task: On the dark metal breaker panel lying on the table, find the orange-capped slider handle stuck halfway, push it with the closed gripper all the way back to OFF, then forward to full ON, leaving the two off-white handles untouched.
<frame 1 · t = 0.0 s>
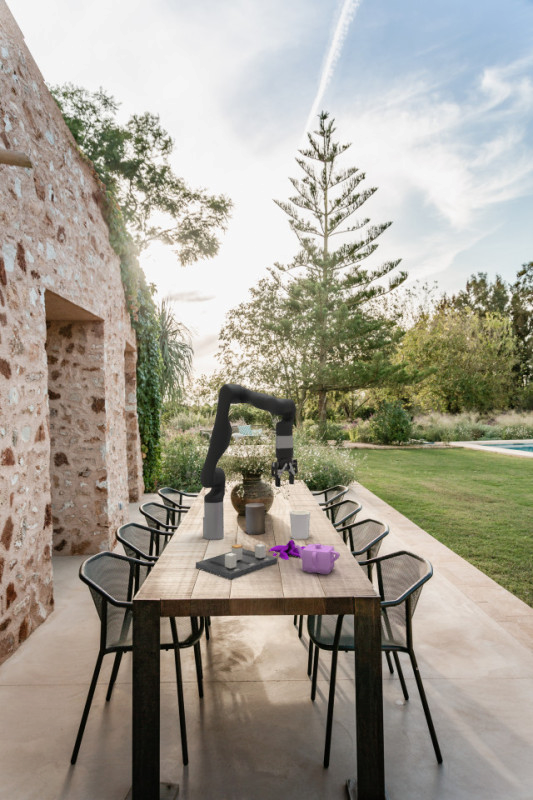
hand: (284, 485, 201), 29 cm above the table, tool pointing down, fingers open, 8 cm apart
candle holder: (300, 537, 229), on the table
teapot: (316, 570, 183), on the table
cloth: (289, 555, 204), on the table
breaker c: (260, 551, 192), point 5 cm above the table, slide at 10.0 cm
breaker tripped: (236, 552, 189), point 5 cm above the table, slide at 5.0 cm
pillar candle: (255, 532, 240), on the table
panel: (237, 565, 189), on the table
breaker a: (230, 560, 180), point 5 cm above the table, slide at 10.0 cm
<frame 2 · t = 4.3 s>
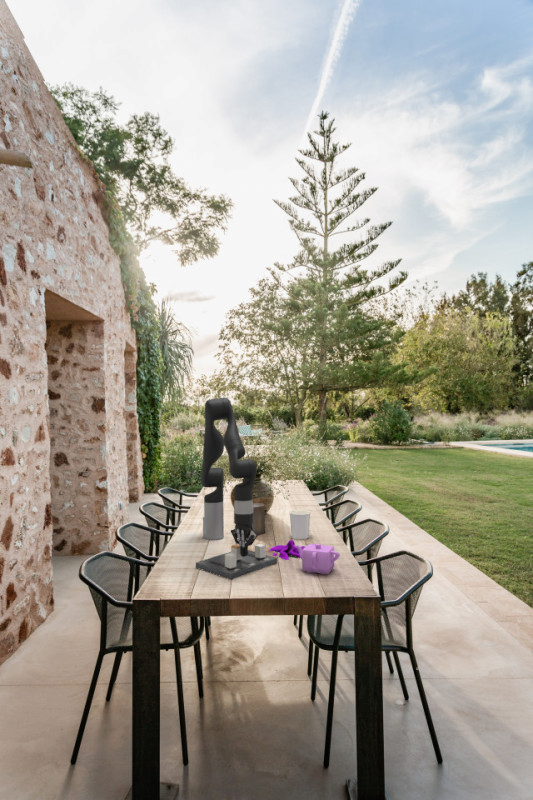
hand: (244, 556, 187), 4 cm above the table, tool pointing down, fingers closed
breaker tripped: (236, 552, 190), point 5 cm above the table, slide at 4.8 cm, touching gripper
everything else where it was.
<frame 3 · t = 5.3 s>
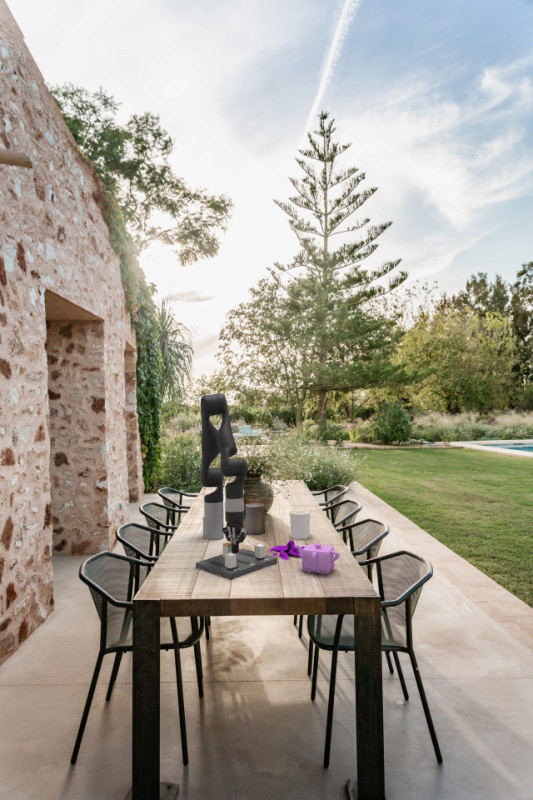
hand: (235, 553, 190), 4 cm above the table, tool pointing down, fingers closed
breaker tripped: (228, 549, 193), point 5 cm above the table, slide at -0.1 cm, touching gripper
everything else where it was.
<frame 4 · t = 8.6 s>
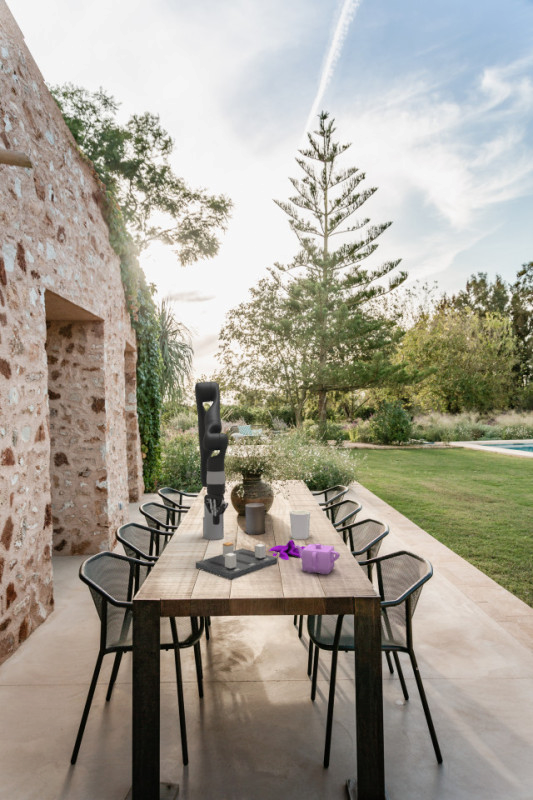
hand: (216, 524, 198), 14 cm above the table, tool pointing down, fingers closed
breaker tripped: (228, 549, 193), point 5 cm above the table, slide at -0.1 cm
everything else where it was.
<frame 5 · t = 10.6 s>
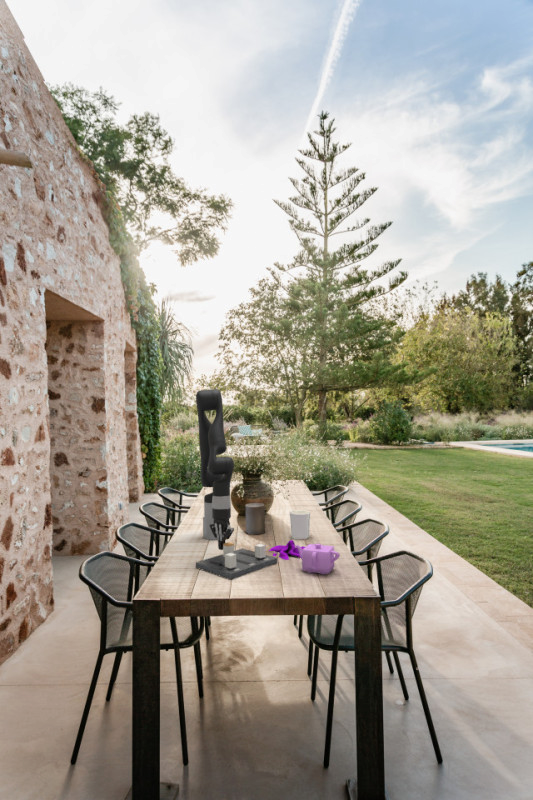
hand: (221, 549, 195), 5 cm above the table, tool pointing down, fingers closed
breaker tripped: (228, 549, 193), point 5 cm above the table, slide at 0.1 cm, touching gripper
everything else where it was.
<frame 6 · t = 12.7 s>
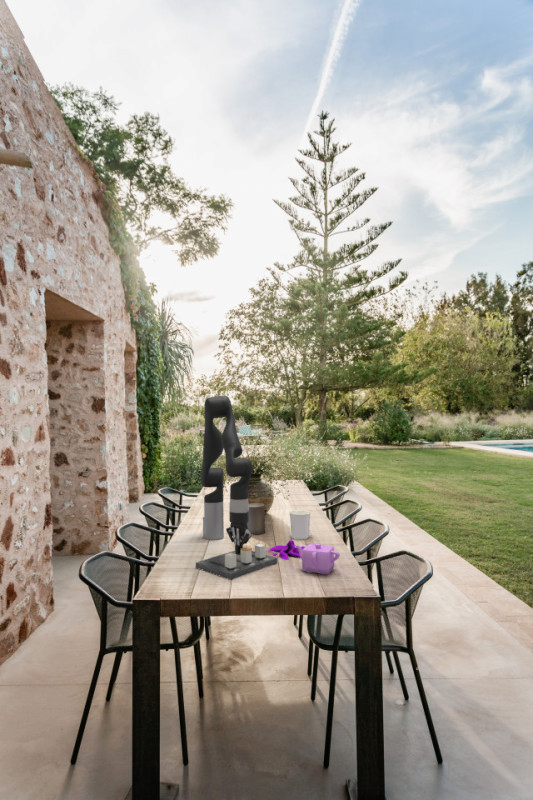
hand: (238, 554, 188), 5 cm above the table, tool pointing down, fingers closed
breaker tripped: (246, 554, 186), point 5 cm above the table, slide at 10.2 cm, touching gripper
everything else where it was.
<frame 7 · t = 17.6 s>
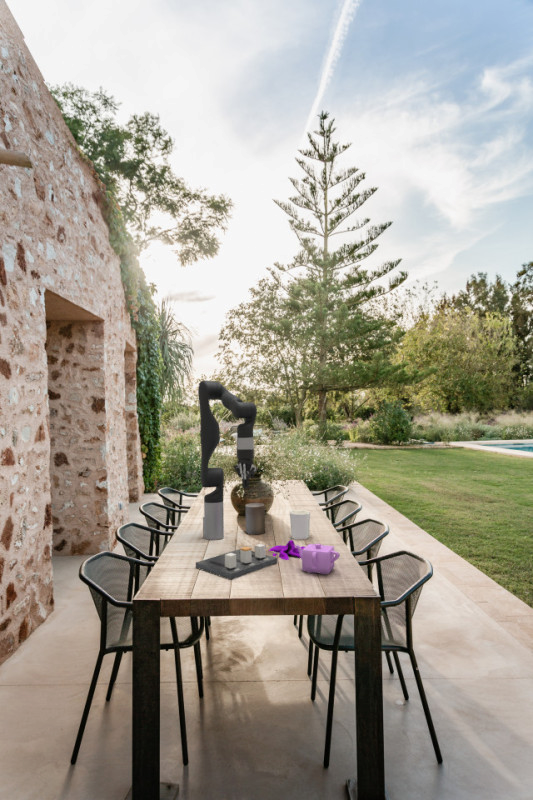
hand: (245, 487, 211), 27 cm above the table, tool pointing down, fingers closed
breaker tripped: (246, 554, 186), point 5 cm above the table, slide at 10.1 cm
everything else where it was.
at the end: breaker tripped slide at 10.1 cm; breaker a slide at 10.0 cm; breaker c slide at 10.0 cm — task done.
